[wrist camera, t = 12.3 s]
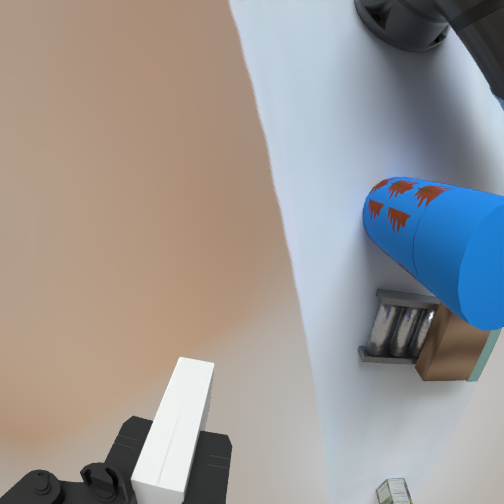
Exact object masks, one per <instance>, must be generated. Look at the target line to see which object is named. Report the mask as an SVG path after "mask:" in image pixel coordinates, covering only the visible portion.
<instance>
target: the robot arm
mask: <svg viewBox="0 0 504 504" xmlns="http://www.w3.org/2000/svg"><path fill="white" fill-rule="evenodd" d="M355 5H356V8H357V11H358V13H359V15H360V17H361V19H362V20H363V22H364V23H365V24H366V25H367V27H368V28H369V29H370V30H371V31H372V32H373V33H374V34H375V35H377V36H378V37H379V38H380V39H382V40H383V41H385V42H386V43H388V44H390V45H392V46H394V47H396V48H399V49H402V50H405V51H410V52H423V51H427V50H430V49H432V48H434V47H435V46H437V45H439V44H440V43H441V42H442V41H443V40H444V39H445V38H446V36H447V34H448V32H449V30H450V28H451V27H452V28H453V30H454V31H455V33H456V34H457V35H458V37H459V38H460V40H461V41H462V43H463V44H464V45H465V47H466V48H467V50H468V51H469V53H470V54H471V56H472V57H473V59H474V61H475V62H476V64H477V65H478V67H479V69H480V70H481V72H482V73H483V75H484V77H485V79H486V80H487V82H488V84H489V85H490V90H491V92H492V94H493V95H494V96H495V98H496V99H497V100H498V101H499V103H500V105H501V107H502V109H503V110H504V0H355ZM214 364H215V363H210V362H204V361H199V360H194V359H189V358H183V357H180V358H179V360H178V363H177V365H176V368H175V370H174V372H173V374H172V377H171V379H170V382H169V384H168V387H167V389H166V392H165V394H164V396H163V399H162V401H161V404H160V406H159V409H158V411H157V414H156V416H155V419H154V421H151V420H147V419H143V418H139V417H136V416H132V417H131V418H130V419H128V420H127V421H126V422H124V423H123V425H122V427H121V429H120V431H119V434H118V436H117V437H116V439H115V442H114V444H113V445H112V448H111V450H110V452H109V454H108V456H107V458H106V460H105V462H104V463H100V462H98V463H91V464H89V465H87V466H85V467H84V468H83V469H82V470H81V471H80V474H81V476H82V478H83V481H84V482H68V481H60V480H58V479H57V478H56V477H55V476H54V475H53V474H52V473H50V472H48V471H45V470H34V471H31V472H29V473H28V474H26V475H25V476H24V477H23V478H22V479H21V480H20V481H19V482H17V483H16V484H15V485H14V486H13V487H12V488H11V489H10V490H9V491H8V492H6V493H5V494H4V495H3V496H2V497H1V498H0V504H226V493H227V485H228V477H229V468H230V459H231V452H232V445H231V442H230V440H229V437H228V436H227V435H224V434H218V433H212V432H206V431H205V426H206V422H207V417H208V412H209V407H210V398H211V389H212V381H213V373H214Z"/></svg>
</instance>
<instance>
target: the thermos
mask: <svg viewBox="0 0 504 504" xmlns="http://www.w3.org/2000/svg"><path fill="white" fill-rule="evenodd" d="M363 223H364V226H365V228H366V231H367V233H368V235H369V236H370V237H371V238H372V240H373V241H374V242H375V243H376V244H377V245H378V246H379V247H380V248H381V249H382V250H383V251H384V252H385V253H386V254H387V255H388V256H390V257H391V258H392V259H393V260H394V261H396V262H397V263H398V264H399V265H400V266H401V267H403V268H404V269H405V270H406V271H407V272H409V273H410V274H411V275H412V276H413V277H414V278H415V279H417V280H418V281H419V282H420V283H421V284H422V285H424V286H425V287H426V288H427V289H428V290H429V291H430V292H431V293H433V294H434V295H435V296H436V297H437V298H438V299H439V300H440V301H441V302H443V303H444V304H445V305H446V306H447V307H448V308H449V309H450V310H451V311H452V312H453V313H455V314H456V315H457V316H458V317H459V318H461V319H462V320H464V321H465V322H467V323H469V324H470V325H472V326H474V327H476V328H478V329H480V330H482V331H488V330H498V329H500V328H502V327H504V196H500V195H496V194H492V193H487V192H482V191H478V190H473V189H468V188H463V187H458V186H453V185H447V184H442V183H436V182H431V181H425V180H419V179H413V178H406V177H394V178H390V179H386V180H383V181H381V182H380V183H379V184H377V185H376V186H375V187H373V189H372V190H371V192H370V193H369V195H368V196H367V198H366V201H365V204H364V208H363Z"/></svg>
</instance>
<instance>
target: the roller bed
mask: <svg viewBox="0 0 504 504" xmlns="http://www.w3.org/2000/svg"><path fill="white" fill-rule="evenodd" d="M376 296H377V297H378V299H379V300H380V301H381V303H380V307H379V310H378V313H377V316H376V319H375V322H374V325H373V328H372V331H371V334H370V337H369V340H368V343H367V346H360V347H359V350H358V352H359V355H360V357H361V359H362V361H363V362H375V363H393V364H416V363H417V360H418V358H419V356H420V353H421V351H422V349H423V346H424V344H425V341H426V339H427V336H428V334H429V331H430V329H431V326H432V324H433V321H434V318H435V315H436V313H437V310H438V307H439V304H440V300H439V299H438V298H437V297H432V296H424V295H417V294H410V293H402V292H395V291H388V290H381V289H378V290H377V293H376ZM398 306H403V308H402V311H401V314H400V317H399V319H398V322H397V325H396V328H395V331H394V334H393V336H392V339H391V342H390V344H389V347H388V348H384V346H385V343H386V341H387V338H388V335H389V332H390V330H391V327H392V324H393V321H394V318H395V315H396V312H397V309H398ZM420 308H423V312H422V315H421V318H420V320H419V323H418V326H417V329H416V331H415V334H414V337H413V339H412V342H411V344H410V347H409V349H405V348H406V346H407V343H408V341H409V338H410V335H411V333H412V330H413V327H414V325H415V322H416V319H417V316H418V314H419V311H420Z"/></svg>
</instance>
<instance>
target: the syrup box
mask: <svg viewBox="0 0 504 504" xmlns="http://www.w3.org/2000/svg"><path fill="white" fill-rule="evenodd" d="M376 492H377V496H378V500H379V504H413V503H412V500H411V497H410V494H409V491H408V488H407V485H406V482H405V479H404V478H401V479H387V480H386V481H385V482H384V483H383V484H382V485H381V486H380V487H379V488H378V489H377V490H376Z"/></svg>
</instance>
